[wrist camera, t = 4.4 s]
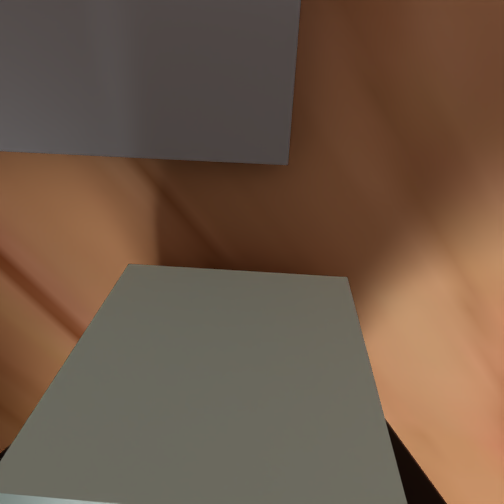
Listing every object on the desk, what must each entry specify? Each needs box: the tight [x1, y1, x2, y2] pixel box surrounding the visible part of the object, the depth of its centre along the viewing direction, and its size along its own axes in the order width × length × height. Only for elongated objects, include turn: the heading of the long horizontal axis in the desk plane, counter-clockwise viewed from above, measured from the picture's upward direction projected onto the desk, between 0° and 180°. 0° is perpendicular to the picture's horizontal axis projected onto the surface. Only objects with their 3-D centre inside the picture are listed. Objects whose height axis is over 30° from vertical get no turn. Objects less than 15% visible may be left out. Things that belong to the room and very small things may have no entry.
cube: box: [0, 264, 407, 504], centre depth 8 cm, size 5×5×5 cm
